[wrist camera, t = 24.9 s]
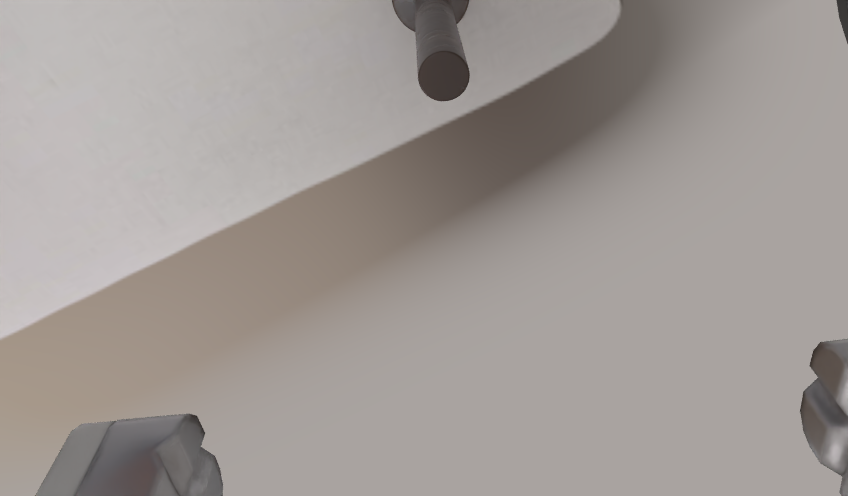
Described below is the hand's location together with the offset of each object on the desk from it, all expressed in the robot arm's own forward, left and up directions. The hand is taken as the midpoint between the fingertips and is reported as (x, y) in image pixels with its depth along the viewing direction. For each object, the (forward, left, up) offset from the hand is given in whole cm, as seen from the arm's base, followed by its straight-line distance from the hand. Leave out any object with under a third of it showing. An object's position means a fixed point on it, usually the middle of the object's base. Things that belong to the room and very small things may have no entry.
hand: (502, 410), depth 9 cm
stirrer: (0, 0, -29) cm, 29 cm away
